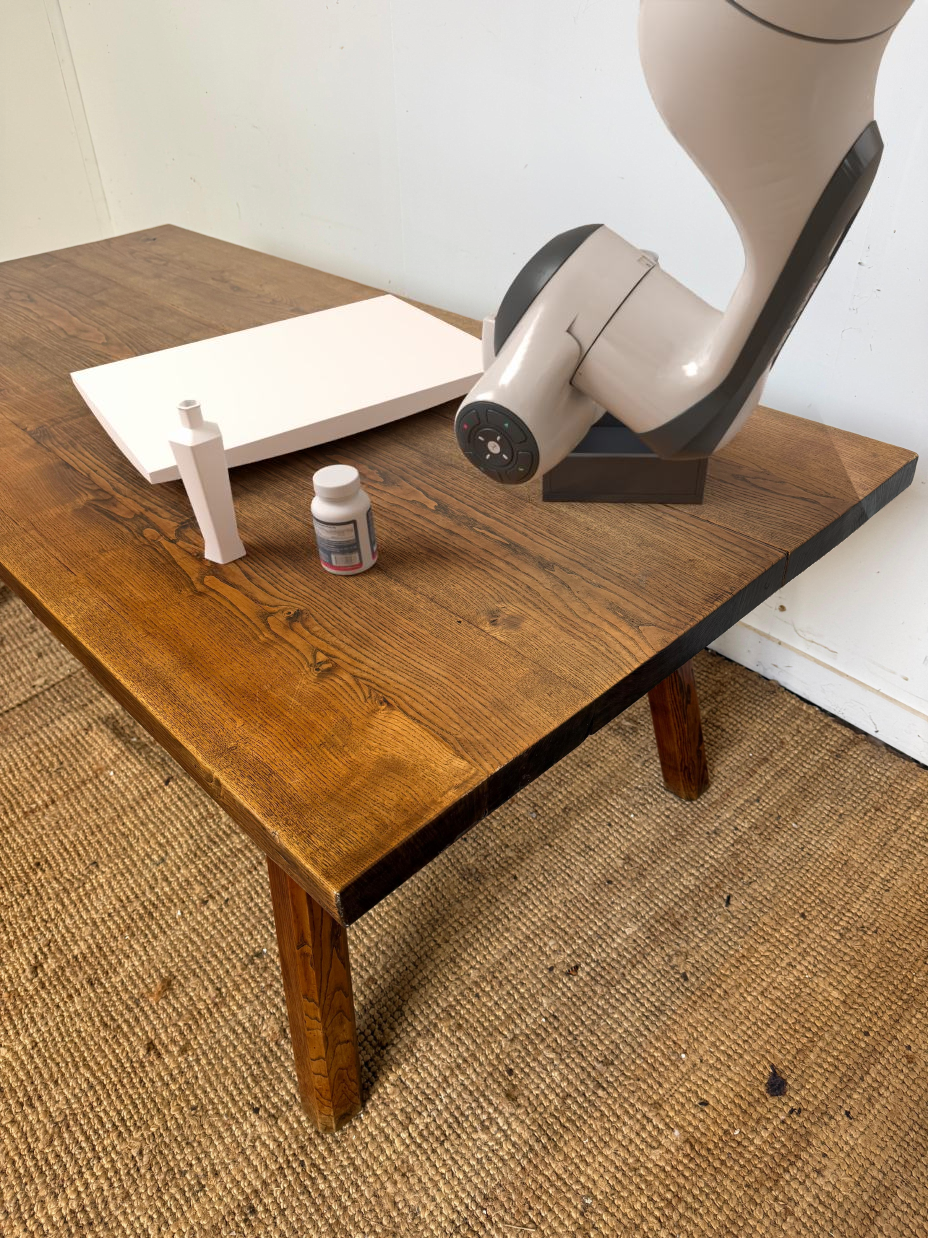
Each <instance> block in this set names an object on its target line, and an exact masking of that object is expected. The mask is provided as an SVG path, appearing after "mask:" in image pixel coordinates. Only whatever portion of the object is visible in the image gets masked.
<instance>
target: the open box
mask: <svg viewBox="0 0 928 1238" xmlns="http://www.w3.org/2000/svg"><path fill="white" fill-rule="evenodd" d="M709 459H710V457H707V458H702V459H695V460H662V459H661V458H660V457H659V456H658V455H657V454H656V453H654V452H653V451H652V450H651V449H650V448H649V447H648V446H647V445H646V444H645V443H643V442H642V441H641V440H640V439H639V438H638V437H637V436H636V435H635V434H633V432H632V430H631V429H630V428H629V427H627V426H626V425H625V424H623V423H622V422H621V421H619V420H618V419H617V418H616V417H614V416H613V415H612V414H610V413H609V412H608V411H606V412H605V414H604V415H603V416H602V417H601V418H600V419H599V420H598V421H597V422H596V423H594V424H593V425H592V426H591V427H590V429H589V431H588V432H587V434H586V436H585V437H584V438H583V439H582V441H581V442H580V443H579V444H578V445H577V446H576V447H575V448H574V449H573V450H572V451H571V452H570V453H569V454H568V455H567V456H566V457H565V458H564V459H563V460H562V461H561V462H559V463H558V464H557V465H556V466H555V467H553V468H552V469H551V470H549V471H548V472H547V473H545V474H544V475H542V476H541V479H542V480H541V481H542V482H541V483H542V484H541V487H542V488H541V497H542V498H541V501H542V502H565V503H566V502H569V503H573V502H574V503H623V504H624V503H625V504H626V503H629V504H631V503H632V504H685V505H686V504H688V505H689V504H692V505H694V504H695V505H702V504H703V503H704V494H705V487H706V480H707V475H708V474H707V473H708V467H709Z"/></svg>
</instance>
